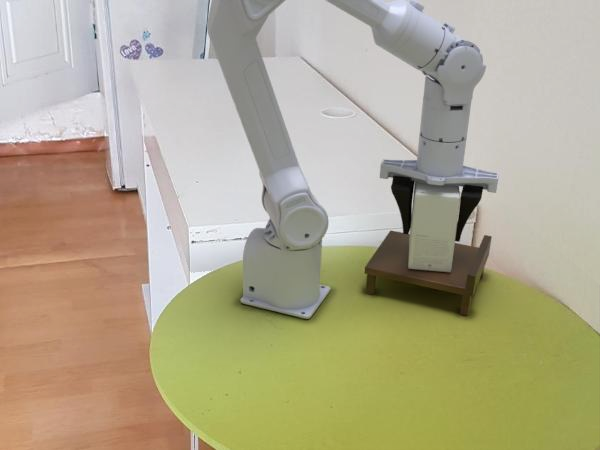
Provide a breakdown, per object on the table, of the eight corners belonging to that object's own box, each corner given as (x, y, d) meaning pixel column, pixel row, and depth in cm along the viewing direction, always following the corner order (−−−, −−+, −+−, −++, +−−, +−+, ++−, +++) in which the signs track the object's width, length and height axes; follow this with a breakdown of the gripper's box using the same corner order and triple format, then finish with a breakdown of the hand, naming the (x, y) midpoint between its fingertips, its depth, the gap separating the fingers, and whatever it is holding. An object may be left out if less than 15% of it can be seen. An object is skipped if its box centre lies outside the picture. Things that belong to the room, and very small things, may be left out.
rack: (362, 293, 98) (365, 253, 96) (388, 255, 108) (391, 217, 106) (469, 318, 94) (475, 276, 91) (485, 275, 104) (491, 236, 101)
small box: (451, 274, 95) (461, 198, 91) (406, 269, 96) (414, 194, 92) (449, 246, 103) (459, 174, 98) (408, 242, 103) (415, 170, 99)
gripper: (378, 138, 90) (371, 239, 96) (502, 152, 87) (486, 256, 93) (388, 121, 96) (380, 217, 102) (504, 134, 93) (489, 232, 99)
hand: (431, 234), depth 98 cm, fingers closed on small box, 6 cm apart
